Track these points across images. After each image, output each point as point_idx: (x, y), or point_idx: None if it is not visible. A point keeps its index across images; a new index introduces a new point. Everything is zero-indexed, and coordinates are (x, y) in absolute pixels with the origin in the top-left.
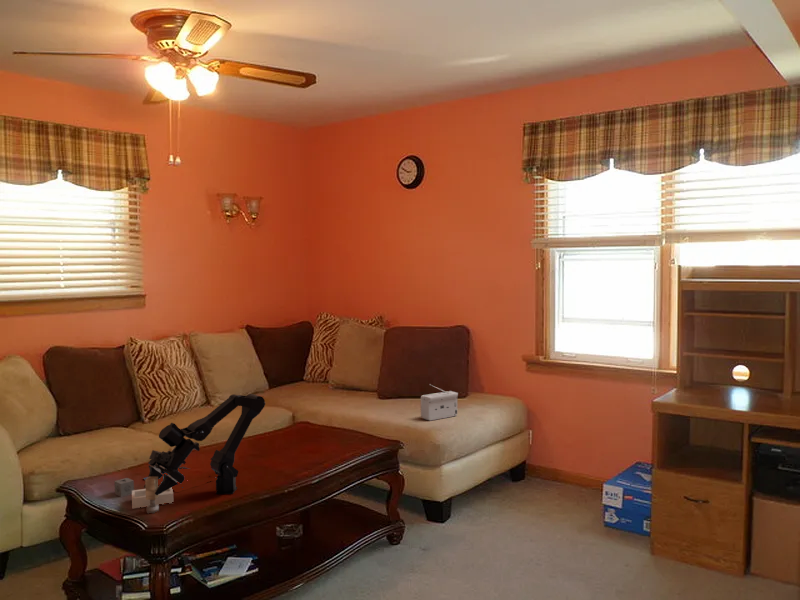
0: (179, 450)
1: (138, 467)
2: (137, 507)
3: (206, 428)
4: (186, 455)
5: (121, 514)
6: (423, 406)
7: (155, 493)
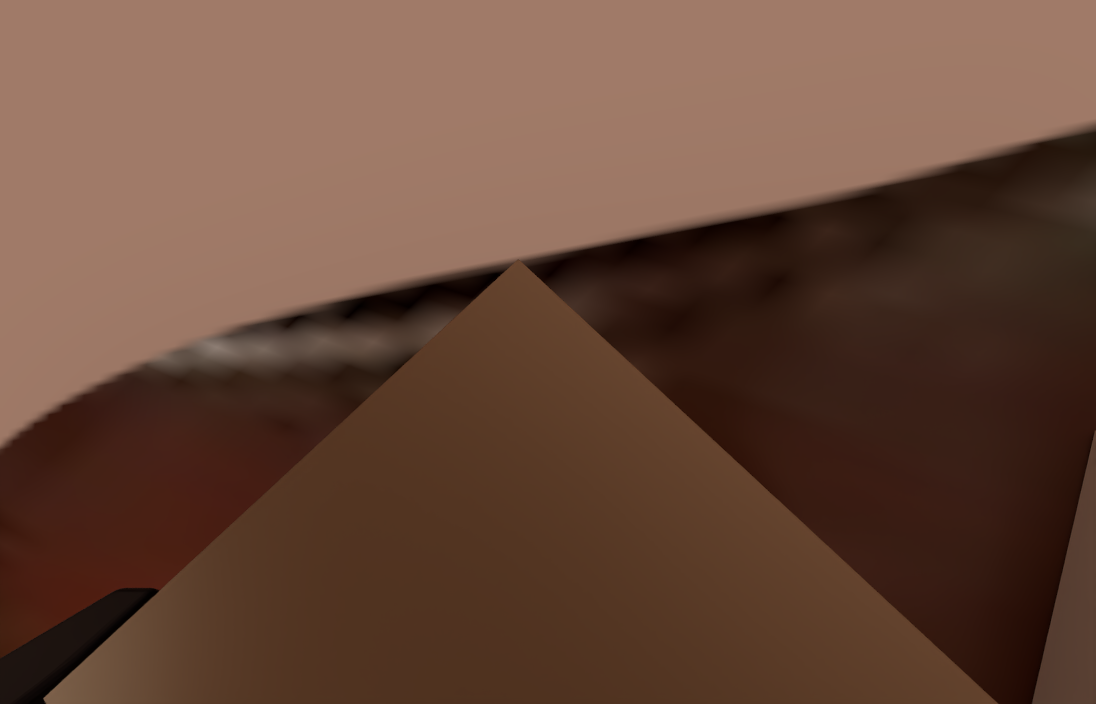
0: None
1: None
2: (1075, 524)
3: None
4: None
5: (899, 197)
6: None
7: (108, 596)
